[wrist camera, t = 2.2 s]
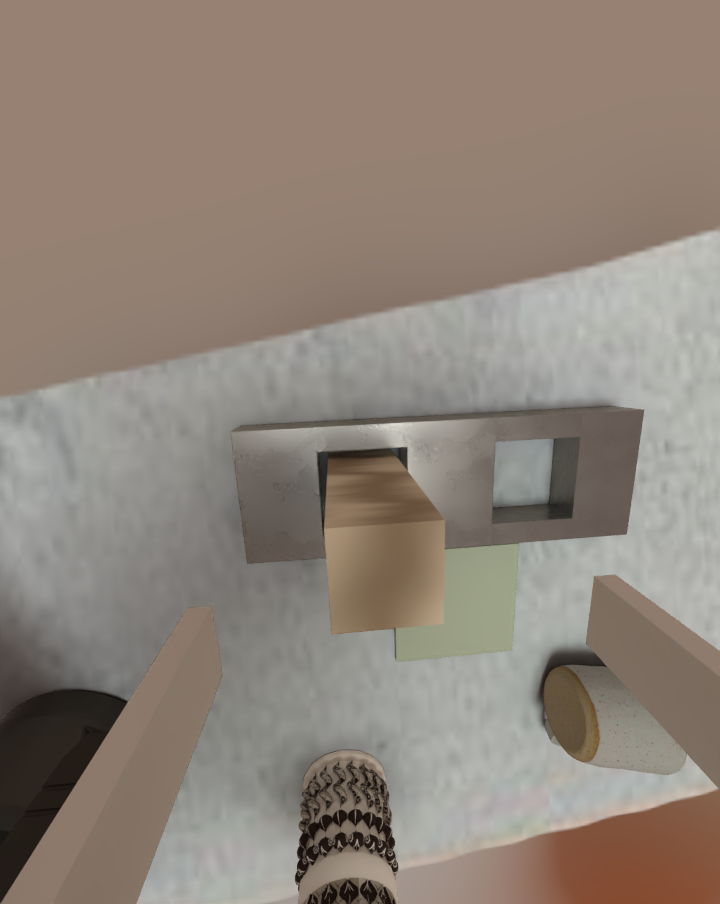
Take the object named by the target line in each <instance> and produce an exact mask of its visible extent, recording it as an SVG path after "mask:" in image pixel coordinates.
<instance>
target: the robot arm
mask: <svg viewBox="0 0 720 904" xmlns="http://www.w3.org/2000/svg"><path fill="white" fill-rule="evenodd" d="M586 644H587V645H588V646H589V647H590V648H591V649H592V650H593V651H594V653H595V654H596V655H597V656H598V657H599V658H600V659H601V660H602V661H603V662H604V664H605V665H606V666H607V667H608V668H609V669H610V670H611V671H612V672H613V673H614V674H615V676H616V677H617V678H618V679H619V680H620V681H621V682H622V683H623V684H624V685H625V686H626V688H627V689H628V690H629V691H630V692H631V693H632V694H633V695H634V696H635V697H636V699H637V700H638V701H639V702H640V703H641V704H642V705H643V706H644V707H645V708H646V709H647V711H648V712H649V713H650V714H651V715H652V716H653V717H654V718H655V719H656V720H657V721H658V723H659V724H660V725H661V726H662V727H663V728H664V729H665V730H666V731H667V732H668V734H669V735H670V736H671V737H672V738H673V739H674V740H675V741H676V742H677V743H678V744H679V746H680V747H681V748H682V749H683V750H684V751H685V752H686V753H687V754H688V755H689V756H690V758H691V759H692V760H693V761H694V762H695V763H696V764H697V765H698V766H699V767H700V769H701V770H702V771H703V772H704V773H705V774H706V775H707V776H708V777H709V778H710V779H711V781H712V782H713V783H714V784H715V785H716V786H717V787H718V788H719V789H720V651H719V650H717V649H716V648H715V647H713V646H712V645H711V644H709V643H708V642H707V641H705V640H704V639H702V638H701V637H700V636H698V635H697V634H696V633H694V632H693V631H691V630H690V629H689V628H687V627H686V626H685V625H683V624H682V623H681V622H679V621H678V620H676V619H675V618H674V617H672V616H671V615H670V614H668V613H667V612H666V611H664V610H663V609H661V608H660V607H659V606H657V605H656V604H655V603H653V602H652V601H651V600H649V599H648V598H646V597H645V596H644V595H642V594H641V593H640V592H638V591H637V590H635V589H634V588H633V587H631V586H630V585H629V584H627V583H626V582H625V581H623V580H622V579H620V578H619V577H618V576H616V575H605V576H594V582H593V590H592V598H591V606H590V614H589V622H588V630H587V638H586ZM221 678H222V669H221V662H220V656H219V650H218V644H217V638H216V631H215V625H214V619H213V613H212V607H211V606H205V607H192V608H187V610H186V611H185V613H184V614H183V616H182V618H181V619H180V621H179V622H178V624H177V625H176V627H175V629H174V630H173V632H172V633H171V635H170V636H169V638H168V640H167V641H166V643H165V644H164V646H163V648H162V649H161V651H160V652H159V654H158V655H157V657H156V659H155V660H154V662H153V663H152V665H151V667H150V668H149V670H148V671H147V673H146V674H145V676H144V678H143V679H142V681H141V682H140V684H139V686H138V687H137V689H136V690H135V692H134V693H133V695H132V697H131V698H130V700H129V701H128V703H125V702H123V701H120V700H118V699H115V698H113V697H110V696H106V695H103V694H98V693H93V692H85V691H61V692H54V693H49V694H45V695H41V696H38V697H35V698H33V699H30V700H28V701H26V702H24V703H22V704H21V705H19V706H18V707H16V708H15V709H13V710H12V711H11V712H10V713H9V714H8V715H7V716H6V717H5V718H4V719H3V720H2V721H1V722H0V904H136V903H137V900H138V897H139V895H140V892H141V889H142V887H143V884H144V882H145V879H146V876H147V874H148V871H149V868H150V866H151V863H152V860H153V858H154V855H155V852H156V850H157V847H158V844H159V842H160V839H161V837H162V834H163V831H164V829H165V826H166V823H167V821H168V818H169V815H170V813H171V810H172V807H173V805H174V802H175V799H176V797H177V794H178V792H179V789H180V786H181V784H182V781H183V778H184V776H185V773H186V770H187V768H188V765H189V762H190V760H191V757H192V754H193V752H194V749H195V747H196V744H197V741H198V739H199V736H200V733H201V731H202V728H203V725H204V723H205V720H206V717H207V715H208V712H209V709H210V707H211V704H212V702H213V699H214V696H215V694H216V691H217V688H218V686H219V683H220V680H221Z"/></svg>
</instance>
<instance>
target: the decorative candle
mask: <svg viewBox="0 0 720 904" xmlns="http://www.w3.org/2000/svg"><path fill="white" fill-rule="evenodd" d="M302 796H303V797H304V798H305V800H304V801H302V802H301V804H300V806H301V808H302V809H303V810H302V811H301V817H302V818H303V820H302V821H300V823H299V829H300V830H301V831H302V832H303V833H302V836H301V837H300V839H299V845H300V846H299V848H298V850H297V856H298V858H299V859H300V860H299V862H298V864H297V870H298V871H297V873H296V875H295V882H296V884H297V885H298V891H299V898H298V904H399V902H398V894H397V886H396V878H395V875H396V874H397V872H398V863H397V861H396V860H395V853H394V851H393V850H392V849H393V848H394V846H395V840H394V838H393V837H392V830H391V828H390V825H391V821H392V814H391V811H390V809H389V804H388V802H389V793H388V791H387V787H386V776H385V773H384V770H383V767H382V765H381V764H380V763H379V762H378V761H377V760H376V759H375V758H374V757H373V756H372V755H369V754H366V753H364V752H361V751H358V750H339V751H336V752H332V753H329V754H326V755H324V756H322V757H321V758H320V759H318V760H317V761H315V762H314V763H312V765H311V766H310V768H309V769H308V771H307V772H306V774H305V775H304V783H303V792H302ZM303 875H304V876H303Z"/></svg>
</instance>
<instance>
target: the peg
mask: <svg viewBox="0 0 720 904" xmlns="http://www.w3.org/2000/svg"><path fill="white" fill-rule="evenodd" d="M324 535H325V549H326V563H327V577H328V591H329V605H330V619H331V633H332V634H341V633H352V632H363V631H374V630H385V629H395V628H406V627H417V626H428V625H439V624H444V563H445V519H444V518H443V517H442V515H441V514H440V513H439V511H438V510H437V509H436V507H435V506H434V505H433V504H432V502H431V501H430V500H429V498H428V497H427V496H426V494H425V493H424V492H423V490H422V489H421V488H420V487H419V485H418V484H417V483H416V481H415V480H414V479H413V477H412V476H411V475H410V473H409V472H408V471H407V469H406V468H405V467H404V466H403V464H402V463H401V462H400V460H399V459H398V458H397V456H396V455H395V454H394V452H393V451H392V450H391V449H376V450H359V451H342V452H328V469H327V486H326V504H325V521H324Z"/></svg>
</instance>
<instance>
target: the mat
mask: <svg viewBox="0 0 720 904" xmlns="http://www.w3.org/2000/svg"><path fill="white" fill-rule="evenodd" d="M518 555H519V543H508V544H496V545H483V546H470V547H457V548H445V563H444V624H439V625H428V626H417V627H406V628H395V654H396V662H400V661H410V660H420V659H431V658H441V657H451V656H461V655H471V654H481V653H492V652H502V651H512V646H513V631H514V616H515V600H516V585H517V570H518Z"/></svg>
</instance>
